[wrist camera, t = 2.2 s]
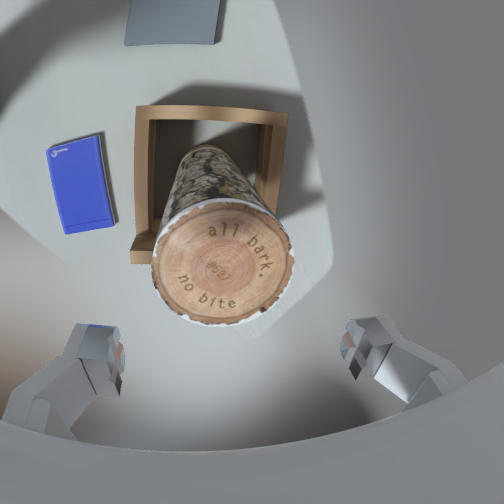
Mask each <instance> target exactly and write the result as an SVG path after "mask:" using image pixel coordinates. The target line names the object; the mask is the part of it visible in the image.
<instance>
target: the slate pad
mask: <svg viewBox="0 0 504 504" xmlns="http://www.w3.org/2000/svg"><path fill="white" fill-rule="evenodd" d="M219 4H220V0H132V3H131V8H130V13H129V18H128V23H127V29H126V34H125V40H124V45H125V46H133V45H149V44H207V45H214V38H215V31H216V24H217V17H218V11H219Z"/></svg>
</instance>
